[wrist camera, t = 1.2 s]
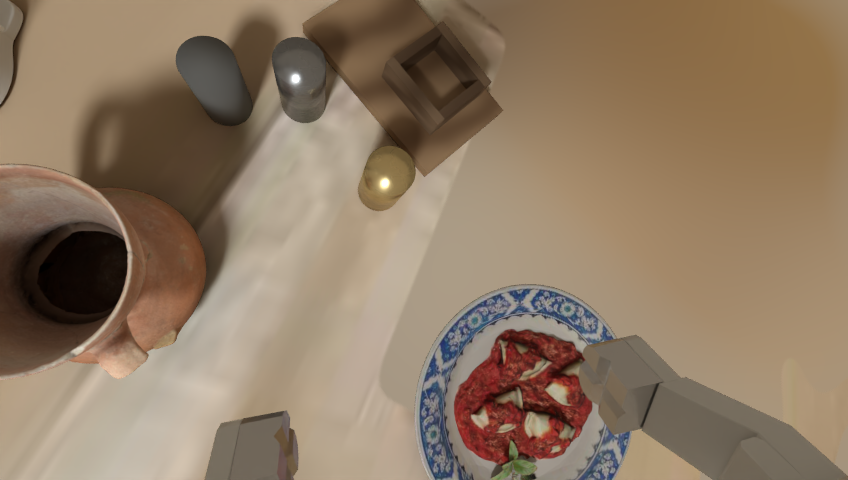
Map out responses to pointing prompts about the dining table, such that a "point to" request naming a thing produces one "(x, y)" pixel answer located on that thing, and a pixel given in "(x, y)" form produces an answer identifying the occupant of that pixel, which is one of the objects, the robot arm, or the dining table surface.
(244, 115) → the grey rounded cylinder
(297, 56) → the dark steel roller
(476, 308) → the ceramic plate
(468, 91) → the socket board
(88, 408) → the dining table surface
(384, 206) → the translucent yellow cylinder
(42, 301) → the ceramic jug
